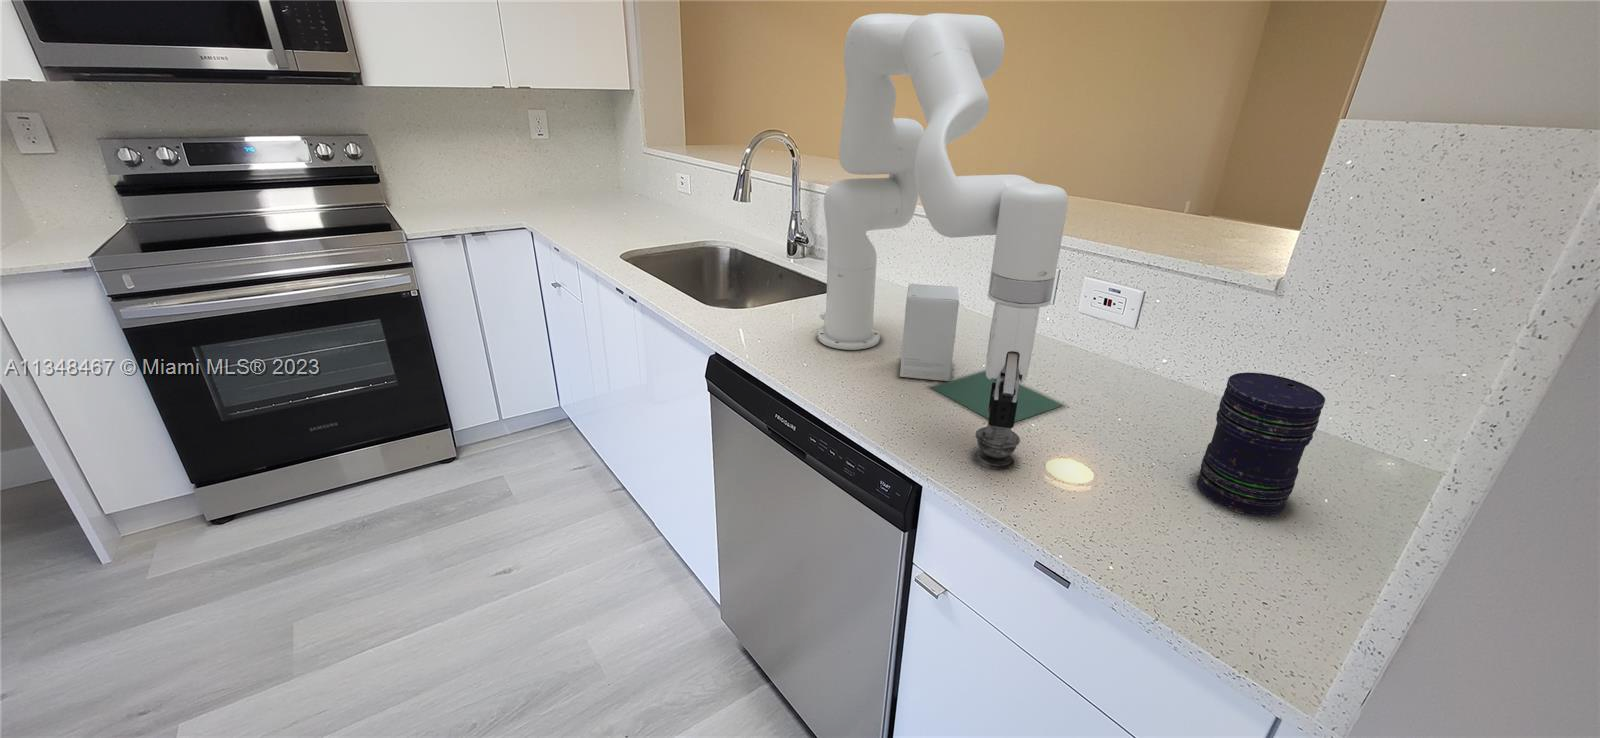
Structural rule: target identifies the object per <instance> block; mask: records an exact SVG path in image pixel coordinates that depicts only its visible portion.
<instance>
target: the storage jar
mask: <svg viewBox="0 0 1600 738" xmlns="http://www.w3.org/2000/svg"><path fill="white" fill-rule="evenodd" d="M1325 403H1326V397H1325V396H1324V395H1323V393H1321V392H1320V391H1319V390H1318V389H1315V388H1314V387H1312V386H1310V385H1308V384H1305V383H1302V382H1300V381H1297V380H1295V379H1291V378H1288V377H1283V376H1280V375H1276V374H1270V373H1263V372H1262V373H1261V372H1239V373H1234V374H1231V375H1230V376H1229V377H1228V379H1227V382H1226V387H1225V388H1224V391H1223V395H1222V396H1221V398H1220V402H1219V404H1218V410H1217V411H1216V417H1215V420H1216V425H1215V429H1214V431H1213V435H1212V438H1211V441H1210V442H1209V443H1208V444H1207V447H1206V449H1205V453H1204V455H1203V457H1202V459H1201V463H1200V469H1199V475H1198V476H1197V479H1196V488H1197V489H1198V491H1199V492H1200V493H1201V494H1202V495H1203V496H1204V497H1205V498H1207V499H1208V500H1210V501H1211V502H1212V503H1214V504H1216V505H1218V506H1220V507H1222V508H1223V509H1226V510H1228V511H1232V512H1235V513H1238V514H1240V515H1241V514H1242V515H1245V516H1251V517H1258V518H1259V517H1260V518H1265V517H1266V518H1270V517H1275V516H1278V515H1280V514H1282V513H1283V512H1284V511H1285V508H1286V505H1287V502H1288V500H1289V498H1290V495H1291V494H1292V493H1293V491H1294V488H1295V485H1296V480H1297V478H1298V475H1299V465H1300V462H1301V459H1302V457H1303V454H1304V451H1305V448H1306V447H1307V446H1308V445H1309V444H1310V443H1311V441H1312V440H1313V438H1314V433H1315V432H1316V430H1317V427H1318V425H1319V422H1320V416H1321V414H1322V410H1323V408H1324V406H1325Z"/></svg>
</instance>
